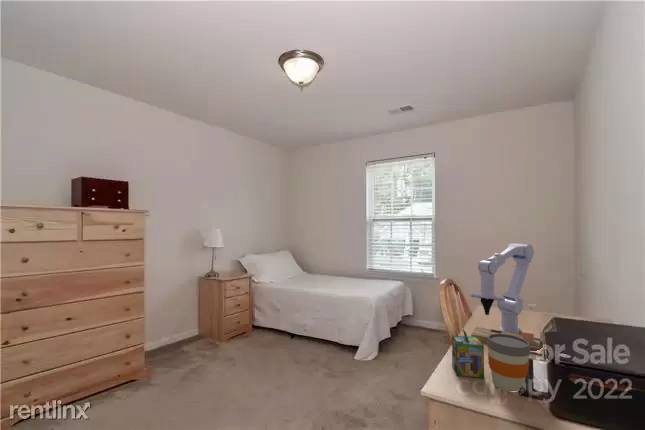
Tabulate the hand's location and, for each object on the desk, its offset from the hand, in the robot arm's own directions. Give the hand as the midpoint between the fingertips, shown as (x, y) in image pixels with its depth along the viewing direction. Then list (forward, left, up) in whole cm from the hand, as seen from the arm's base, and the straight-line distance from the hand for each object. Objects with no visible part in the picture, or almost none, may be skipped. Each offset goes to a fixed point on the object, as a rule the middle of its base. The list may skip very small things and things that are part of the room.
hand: (487, 314), depth 151 cm
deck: (+4, +8, -10) cm, 13 cm away
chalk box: (+44, 0, -10) cm, 45 cm away
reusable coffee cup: (+46, +13, -10) cm, 49 cm away
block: (+4, +17, -7) cm, 18 cm away
